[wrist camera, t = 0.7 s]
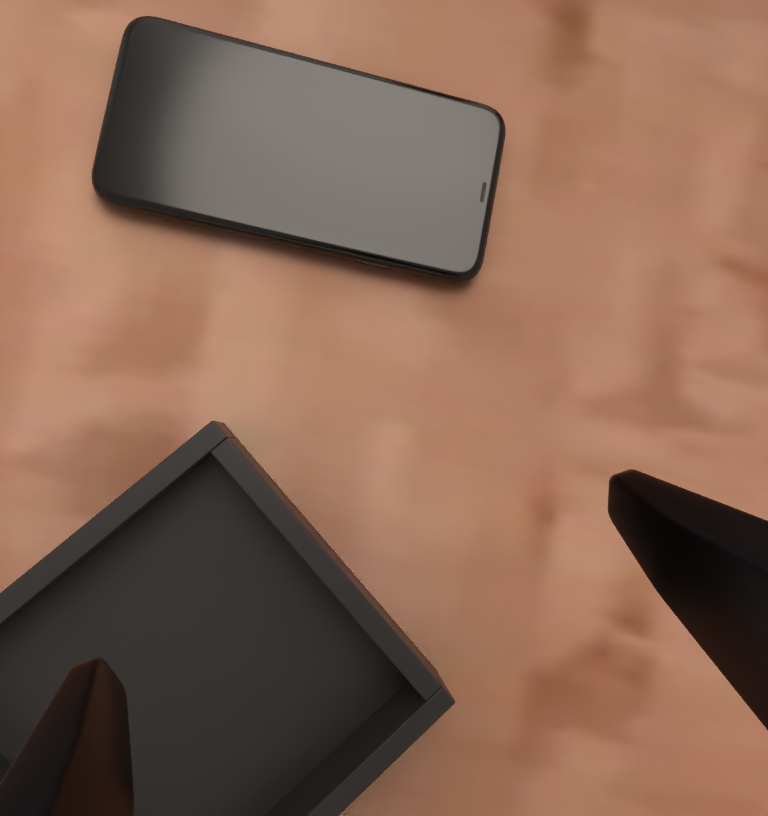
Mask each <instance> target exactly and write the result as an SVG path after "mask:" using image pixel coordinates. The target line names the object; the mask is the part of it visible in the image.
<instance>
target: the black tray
mask: <svg viewBox="0 0 768 816" xmlns="http://www.w3.org/2000/svg"><path fill="white" fill-rule="evenodd" d="M95 657H101V658H103V659H104V660H105V661H106V662H107V663H108V665H109V666H110V667H111V669H112V670H113V672H114V673H115V674H116V676H117V677H118V679H119V680H120V681H121V683H122V684H123V686H124V689H125V692H126V696H127V707H128V720H129V733H130V747H131V760H132V773H133V790H134V813H133V816H338V815H339V814H340V813H341V812H342V811H343V810H344V809H345V808H346V807H347V806H348V805H350V804H351V803H352V802H353V801H354V800H355V799H356V798H357V797H358V796H359V795H360V794H361V793H362V792H363V791H364V790H365V789H366V788H367V787H368V786H369V785H370V784H371V783H372V782H373V781H374V780H375V779H377V778H378V777H379V776H380V775H381V774H382V773H383V772H384V771H385V770H386V769H387V768H388V767H389V766H390V765H391V764H392V763H393V762H394V761H395V760H396V759H397V758H398V757H399V756H400V755H401V754H402V753H403V752H405V751H406V750H407V749H408V748H409V747H410V746H411V745H412V744H413V743H414V742H415V741H416V740H417V739H418V738H419V737H420V736H421V735H422V734H423V733H424V732H425V731H426V730H427V729H428V728H429V727H430V726H431V725H433V724H434V723H435V722H436V721H437V720H438V719H439V718H440V717H441V716H442V715H443V714H444V713H445V712H446V711H447V710H448V709H449V708H450V707H451V706H452V705H453V704H454V703H455V701H454V699H453V697H452V696H451V694H450V692H449V691H448V689H447V687H446V685H445V684H444V682H443V680H442V679H441V677H440V675H439V674H438V672H437V670H436V669H435V668H434V667H433V666H432V664H431V663H430V662H429V661H428V660H427V659H426V657H425V656H424V655H423V654H422V653H421V652H420V650H419V649H418V648H417V647H416V646H415V645H414V643H413V642H412V641H411V640H410V639H409V638H408V637H407V635H406V634H405V633H404V632H403V631H402V630H401V628H400V627H399V626H398V625H397V624H396V623H395V621H394V620H393V619H392V618H391V617H390V616H389V614H388V613H387V612H386V611H385V610H384V609H383V607H382V606H381V605H380V604H379V603H378V602H377V600H376V599H375V598H374V597H373V596H372V595H371V594H370V592H369V591H368V590H367V589H366V588H365V587H364V585H363V584H362V583H361V582H360V581H359V580H358V578H357V577H356V576H355V575H354V574H353V573H352V571H351V570H350V569H349V568H348V567H347V566H346V564H345V563H344V562H343V561H342V560H341V559H340V557H339V556H338V555H337V554H336V553H335V552H334V551H333V549H332V548H331V547H330V546H329V545H328V544H327V542H326V541H325V540H324V539H323V538H322V537H321V535H320V534H319V533H318V532H317V531H316V530H315V528H314V527H313V526H312V525H311V524H310V523H309V521H308V520H307V519H306V518H305V517H304V516H303V515H302V513H301V512H300V511H299V510H298V509H297V508H296V506H295V505H294V504H293V503H292V502H291V501H290V499H289V498H288V497H287V496H286V495H285V494H284V492H283V491H282V490H281V489H280V488H279V487H278V485H277V484H276V483H275V482H274V481H273V480H272V478H271V477H270V476H269V475H268V474H267V473H266V472H265V470H264V469H263V468H262V467H261V466H260V465H259V463H258V462H257V461H256V460H255V459H254V458H253V456H252V455H251V454H250V453H249V452H248V451H247V449H246V448H245V447H244V446H243V445H242V444H241V442H240V441H239V440H238V439H237V438H236V437H235V435H234V434H233V433H232V432H231V431H230V430H229V429H228V427H227V426H226V425H225V424H224V423H221V422H216V421H211V422H210V423H209V424H208V425H206V426H205V427H204V428H203V429H201V430H200V431H199V432H198V433H197V434H195V435H194V436H193V437H192V438H190V439H189V440H188V441H187V442H185V443H184V444H183V445H182V446H181V447H179V448H178V449H177V450H176V451H174V452H173V453H172V454H171V455H170V456H168V457H167V458H166V459H165V460H163V461H162V462H161V463H160V464H158V465H157V466H156V467H155V468H154V469H152V470H151V471H150V472H149V473H147V474H146V475H145V476H144V477H142V478H141V479H140V480H139V481H138V482H136V483H135V484H134V485H133V486H131V487H130V488H129V489H128V490H127V491H125V492H124V493H123V494H122V495H120V496H119V497H118V498H117V499H115V500H114V501H113V502H112V503H111V504H109V505H108V506H107V507H106V508H104V509H103V510H102V511H101V512H99V513H98V514H97V515H96V516H95V517H93V518H92V519H91V520H90V521H88V522H87V523H86V524H85V525H84V526H82V527H81V528H80V529H79V530H77V531H76V532H75V533H74V534H72V535H71V536H70V537H69V538H68V539H66V540H65V541H64V542H63V543H61V544H60V545H59V546H58V547H56V548H55V549H54V550H53V551H52V552H50V553H49V554H48V555H47V556H45V557H44V558H43V559H42V560H40V561H39V562H38V563H37V564H36V565H34V566H33V567H32V568H31V569H29V570H28V571H27V572H26V573H25V574H23V575H22V576H21V577H20V578H18V579H17V580H16V581H15V582H13V583H12V584H11V585H10V586H9V587H7V588H6V589H5V590H4V591H2V592H1V593H0V783H1V781H2V779H3V778H4V776H5V774H6V773H7V771H8V770H9V768H10V766H11V765H12V763H13V762H14V760H15V758H16V757H17V755H18V753H19V752H20V750H21V749H22V747H23V745H24V744H25V742H26V741H27V739H28V737H29V736H30V734H31V732H32V731H33V729H34V728H35V726H36V724H37V723H38V721H39V719H40V718H41V716H42V715H43V713H44V711H45V710H46V708H47V707H48V705H49V703H50V702H51V700H52V698H53V697H54V695H55V694H56V692H57V690H58V689H59V687H60V686H61V684H62V682H63V681H64V679H65V677H66V676H67V674H68V673H69V671H70V670H71V669H72V668H73V666H75V665H76V664H78V663H81V662H84V661H87V660H90V659H93V658H95Z"/></svg>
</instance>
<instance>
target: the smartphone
mask: <svg viewBox="0 0 768 816" xmlns="http://www.w3.org/2000/svg"><path fill="white" fill-rule="evenodd" d="M504 140H505V124H504V120H503V118H502V116H501V115H500V114H499V113H498V112H497V111H496V110H495V109H493V108H492V107H490V106H487V105H484V104H481V103H478V102H474V101H470V100H466V99H463V98H459V97H455V96H451V95H448V94H444V93H440V92H436V91H433V90H429V89H425V88H421V87H418V86H414V85H410V84H406V83H403V82H399V81H395V80H391V79H388V78H384V77H380V76H376V75H373V74H369V73H365V72H361V71H358V70H354V69H350V68H346V67H343V66H339V65H335V64H331V63H328V62H324V61H320V60H316V59H313V58H309V57H305V56H301V55H298V54H294V53H290V52H286V51H283V50H279V49H275V48H271V47H267V46H264V45H260V44H256V43H252V42H249V41H245V40H241V39H237V38H234V37H230V36H226V35H222V34H219V33H215V32H211V31H207V30H204V29H200V28H196V27H192V26H189V25H185V24H181V23H177V22H174V21H170V20H166V19H162V18H158V17H152V16H143V17H138V18H136V19H134V20H133V21H131V22H130V23H129V24H128V26H127V27H126V29H125V31H124V34H123V37H122V41H121V45H120V49H119V54H118V58H117V62H116V67H115V71H114V75H113V80H112V84H111V89H110V93H109V97H108V102H107V106H106V110H105V115H104V119H103V124H102V128H101V133H100V137H99V141H98V146H97V150H96V155H95V160H94V164H93V169H92V184H93V187H94V190H95V192H96V193H97V195H98V196H99V197H100V198H101V199H102V200H104V201H105V202H107V203H108V204H110V205H113V206H116V207H119V208H122V209H127V210H131V211H136V212H140V213H144V214H149V215H153V216H158V217H162V218H167V219H171V220H176V221H180V222H184V223H189V224H193V225H198V226H202V227H207V228H211V229H215V230H220V231H224V232H229V233H233V234H238V235H242V236H246V237H251V238H255V239H260V240H264V241H269V242H273V243H278V244H282V245H287V246H291V247H295V248H300V249H304V250H309V251H313V252H317V253H322V254H326V255H331V256H335V257H340V258H344V259H348V260H353V261H354V262H358V263H363V264H367V265H372V266H376V267H381V268H385V269H390V270H392V269H393V270H397V271H402V272H406V273H411V274H415V275H419V276H424V277H428V278H433V279H437V280H442V281H446V282H452V283H463V282H467V281H469V280H471V279H473V278H474V277H475V276H476V275H477V274H478V272H479V271H480V269H481V266H482V263H483V259H484V253H485V248H486V243H487V237H488V232H489V226H490V220H491V215H492V209H493V204H494V198H495V192H496V187H497V181H498V175H499V169H500V164H501V158H502V152H503V146H504Z"/></svg>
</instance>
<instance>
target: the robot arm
mask: <svg viewBox="0 0 768 816" xmlns="http://www.w3.org/2000/svg"><path fill="white" fill-rule="evenodd" d="M608 513H609V516H610V518H611V521H612V522H613V524H614V526H615V527H616V529H617V530H618V532H619V533H620V535H621V536H622V538H623V540H624V541H625V543H626V544H627V546H628V547H629V549H630V551H631V552H632V554H633V555H634V557H635V558H636V560H637V561H638V563H639V565H640V566H641V568H642V569H643V571H644V572H645V574H646V576H647V577H648V579H649V580H650V582H651V583H652V585H653V586H654V588H655V589H656V591H657V592H658V593H659V595H660V596H661V597H662V598H663V600H664V601H665V602H666V604H667V605H668V606H669V607H670V609H671V610H672V611H673V612H674V614H675V615H676V616H677V617H678V619H679V620H680V621H681V622H682V624H683V625H684V626H685V627H686V629H687V630H688V631H689V632H690V634H691V635H692V636H693V637H694V639H695V640H696V641H697V642H698V644H699V645H700V646H701V647H702V649H703V650H704V651H705V652H706V654H707V655H708V656H709V657H710V659H711V660H712V661H713V662H714V664H715V665H716V666H717V667H718V669H719V670H720V671H721V672H722V674H723V675H724V676H725V677H726V679H727V680H728V681H729V682H730V684H731V685H732V686H733V687H734V689H735V690H736V691H737V692H738V694H739V695H740V696H741V697H742V699H743V700H744V701H745V702H746V704H747V705H748V706H749V707H750V709H751V710H752V711H753V712H754V714H755V715H756V716H757V717H758V719H759V720H760V721H761V722H762V724H763V725H764V726H765V727H766V729H767V730H768V521H767V520H764V519H761V518H759V517H756V516H754V515H751V514H748V513H746V512H743V511H741V510H738V509H735V508H733V507H730V506H728V505H725V504H722V503H720V502H717V501H715V500H712V499H709V498H707V497H704V496H702V495H699V494H697V493H694V492H691V491H689V490H686V489H684V488H681V487H678V486H676V485H673V484H671V483H668V482H665V481H663V480H660V479H658V478H655V477H652V476H650V475H647V474H645V473H642V472H639V471H637V470H632V469H631V470H626V471H623V472H621V473H618V474H615V475H613V476H612V477H611V478H610V480H609V494H608ZM133 813H134V790H133V773H132V760H131V747H130V733H129V720H128V707H127V696H126V692H125V689H124V686H123V684H122V683H121V681H120V680H119V679H118V677H117V676H116V674H115V673H114V672H113V670H112V669H111V667H110V666H109V665H108V663H107V662H106V661H105V660H104V659H103V658H101V657H95V658H93V659H90V660H87V661H84V662H81V663H78V664H76V665H75V666H73V668H72V669H71V670H70V671H69V673H68V674H67V676H66V677H65V679H64V681H63V682H62V684H61V686H60V687H59V689H58V690H57V692H56V694H55V695H54V697H53V698H52V700H51V702H50V703H49V705H48V707H47V708H46V710H45V711H44V713H43V715H42V716H41V718H40V719H39V721H38V723H37V724H36V726H35V728H34V729H33V731H32V732H31V734H30V736H29V737H28V739H27V741H26V742H25V744H24V745H23V747H22V749H21V750H20V752H19V753H18V755H17V757H16V758H15V760H14V762H13V763H12V765H11V766H10V768H9V770H8V771H7V773H6V774H5V776H4V778H3V779H2V781H1V783H0V816H133Z"/></svg>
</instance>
